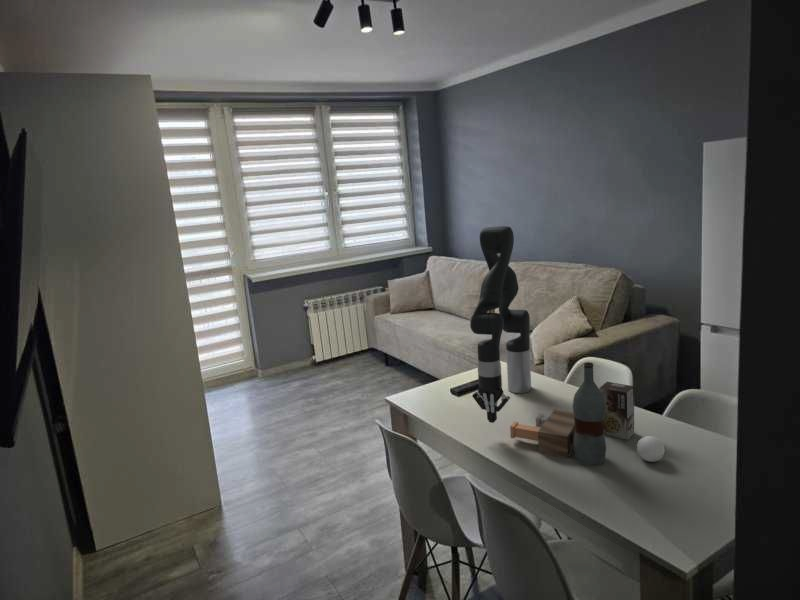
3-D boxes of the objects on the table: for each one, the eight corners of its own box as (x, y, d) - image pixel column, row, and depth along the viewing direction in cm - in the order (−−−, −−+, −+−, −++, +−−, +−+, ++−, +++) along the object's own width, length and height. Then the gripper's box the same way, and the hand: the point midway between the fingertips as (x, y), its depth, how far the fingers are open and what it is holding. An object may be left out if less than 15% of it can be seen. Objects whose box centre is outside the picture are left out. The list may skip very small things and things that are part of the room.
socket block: (555, 428, 181) (554, 409, 179) (582, 432, 176) (582, 413, 175) (538, 452, 166) (537, 431, 165) (567, 457, 161) (567, 436, 160)
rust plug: (514, 432, 176) (514, 421, 176) (554, 439, 169) (554, 428, 169) (510, 437, 173) (510, 426, 172) (551, 445, 166) (550, 433, 165)
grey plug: (540, 424, 181) (539, 413, 180) (579, 430, 174) (579, 419, 173) (536, 429, 178) (535, 418, 177) (576, 436, 170) (576, 424, 170)
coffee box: (635, 432, 173) (635, 385, 170) (627, 440, 169) (627, 392, 165) (607, 426, 179) (606, 380, 176) (599, 433, 175) (598, 387, 171)
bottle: (592, 470, 153) (590, 371, 147) (567, 458, 161) (564, 364, 155) (613, 459, 158) (612, 363, 152) (587, 448, 166) (586, 356, 160)
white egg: (670, 464, 153) (670, 440, 152) (646, 468, 152) (646, 444, 151) (649, 448, 163) (649, 426, 161) (626, 452, 162) (626, 429, 160)
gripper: (513, 370, 174) (515, 420, 177) (475, 366, 181) (478, 414, 184) (504, 378, 168) (506, 429, 171) (466, 373, 175) (469, 423, 178)
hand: (492, 421), depth 178 cm, fingers closed
